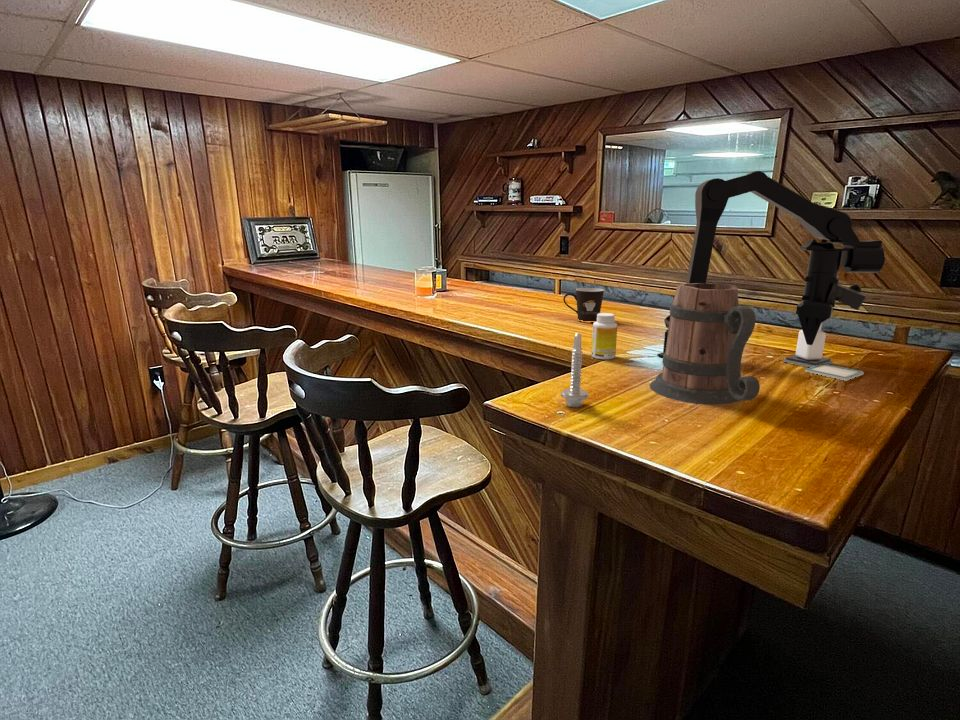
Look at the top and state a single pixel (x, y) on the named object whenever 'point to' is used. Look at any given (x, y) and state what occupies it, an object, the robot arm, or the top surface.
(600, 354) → the supplement bottle
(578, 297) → the coffee mug
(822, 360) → the pad
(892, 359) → the top surface
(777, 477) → the top surface
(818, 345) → the pepper shaker
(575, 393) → the screw
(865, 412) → the top surface
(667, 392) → the tankard
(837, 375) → the print card
